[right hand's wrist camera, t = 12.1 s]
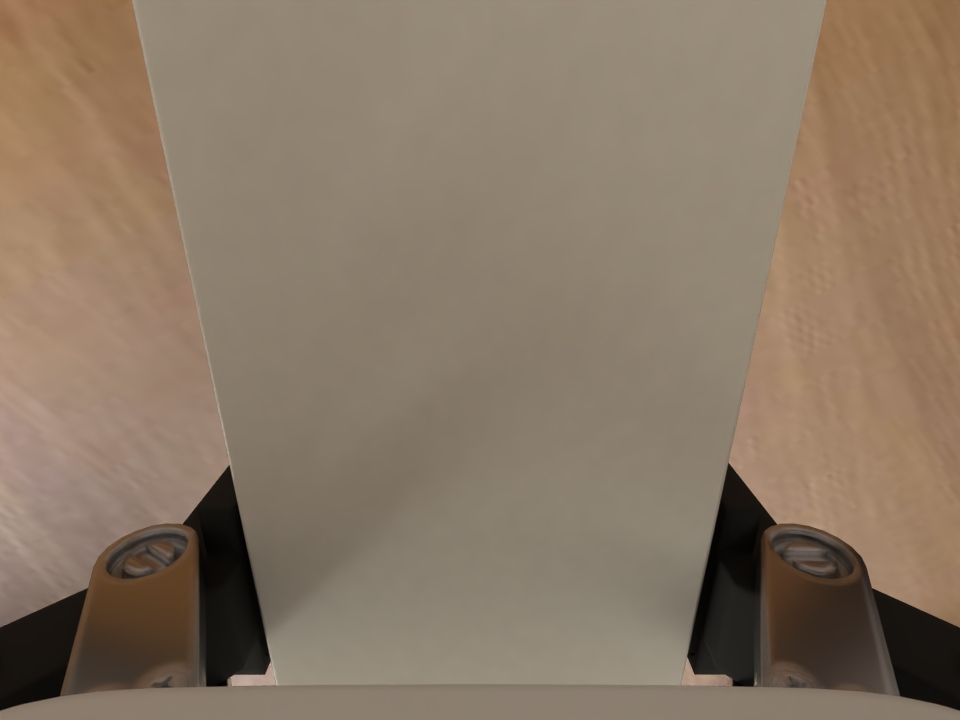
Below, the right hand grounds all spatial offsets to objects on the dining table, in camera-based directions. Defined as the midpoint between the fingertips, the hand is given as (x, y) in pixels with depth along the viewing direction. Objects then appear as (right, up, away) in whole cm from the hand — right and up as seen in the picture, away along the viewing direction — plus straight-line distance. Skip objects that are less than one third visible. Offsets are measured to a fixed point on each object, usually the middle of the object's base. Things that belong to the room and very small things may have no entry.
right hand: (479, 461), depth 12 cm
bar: (0, -26, +13) cm, 29 cm away
